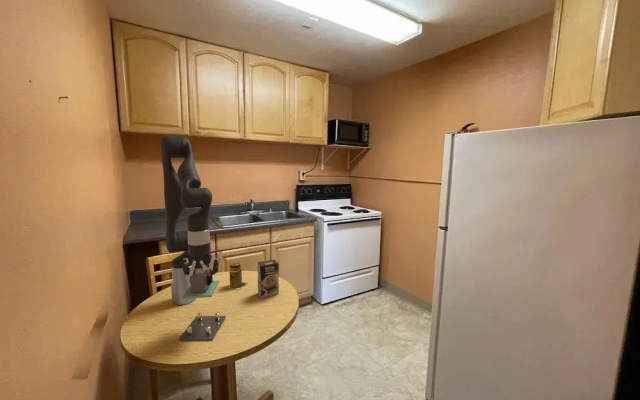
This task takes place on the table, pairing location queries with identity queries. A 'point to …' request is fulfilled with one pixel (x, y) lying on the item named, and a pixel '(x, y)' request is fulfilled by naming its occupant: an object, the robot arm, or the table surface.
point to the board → (201, 295)
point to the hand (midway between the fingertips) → (201, 284)
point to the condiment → (236, 276)
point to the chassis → (203, 327)
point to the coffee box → (268, 278)
